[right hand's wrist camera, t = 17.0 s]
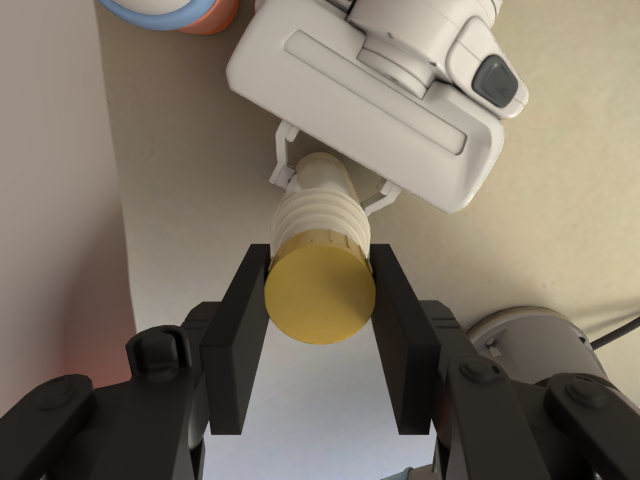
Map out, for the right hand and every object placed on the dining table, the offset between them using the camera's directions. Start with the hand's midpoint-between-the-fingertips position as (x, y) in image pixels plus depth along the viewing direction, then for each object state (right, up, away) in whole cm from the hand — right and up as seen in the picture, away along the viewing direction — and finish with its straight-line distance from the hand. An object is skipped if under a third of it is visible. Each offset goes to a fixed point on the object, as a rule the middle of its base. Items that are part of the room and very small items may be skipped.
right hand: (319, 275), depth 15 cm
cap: (0, -1, -1) cm, 2 cm away
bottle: (0, +7, +20) cm, 22 cm away
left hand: (0, +4, +14) cm, 15 cm away
